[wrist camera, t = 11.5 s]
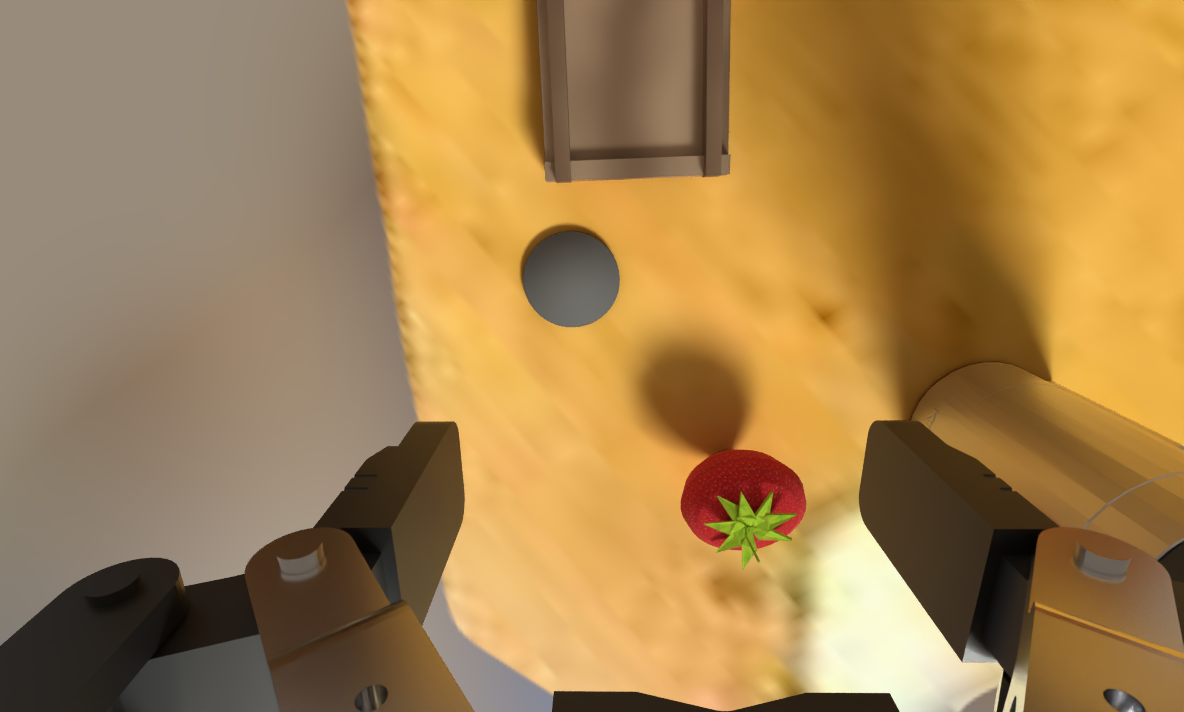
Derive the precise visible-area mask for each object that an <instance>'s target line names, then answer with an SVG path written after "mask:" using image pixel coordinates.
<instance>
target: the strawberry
mask: <svg viewBox="0 0 1184 712" xmlns="http://www.w3.org/2000/svg"><path fill="white" fill-rule="evenodd" d="M805 510H806V499H805V494H804V489H803V484H802V482H801V480H800V479H799V477H798V476H797V475H796V473H795V472H794V471H793V470H792V469H790V468H788V467H787V466H785V465H784V464H782V463H781V462H779V461H778V460H776V459H774V458H773V457H771V456H769V455H767V454H764V453H762V452H757V451H753V450H735V449H733V450H725V451H721V452H718V453H715V454H713V455H711V456H709V457H708V458H707V459H705V460H704V461H703V462H701V463H700V464H699V465H698V466H696V467H695V469H694V470H693V471H692V472H691V473H690V475H689V476H688V478H687V480H686V483H685V486H684V490H683V494H682V498H681V512H682V515H683V518H684V519H685V521H686V522H687V524H688V526H689V527H690V529H691V530H692V532H693V533H694V534H695V535H696V536H697V537H698V538H699V539H701V540H702V541H704V542H706V543H707V544H710V545H712V546H715V547H718V548H719V549H718V550H717V551H716V553H717V552H721V551H725V550H742V570H743V568H744V567H745V566H746V564H747V563H748V562H749V560H750V559H751V557H752V556H753V555H755V557H756V559H757V561H758V563H760V560H759V558H758V556H757V554H756V551H757V549H758V548H762V547H765V546H768V545H771V544H773V543H775V542H777V541H779V540H792V538H790V537H788V536H786V535H788V534H789V533H791V532H792V531H793V530H794V529H795V528H796V527H797V526H798V524H799V523H800V521H801V520H802V518H803V516H804V513H805Z"/></svg>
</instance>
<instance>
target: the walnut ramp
mask: <svg viewBox="0 0 1184 712" xmlns="http://www.w3.org/2000/svg"><path fill="white" fill-rule="evenodd" d="M730 10H731V0H537V16H538V35H539V54H540V72H541V91H542V110H543V129H544V147H545V162H544V163H545V179H546V181H547V182H557V183H568V182H572V181H596V180H622V179H647V178H672V177H698V176H702V177H717V176H723V175H727V174H730V155H728V134H729V72H730Z"/></svg>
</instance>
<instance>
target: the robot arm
mask: <svg viewBox="0 0 1184 712" xmlns="http://www.w3.org/2000/svg"><path fill="white" fill-rule="evenodd" d="M464 502H465V496H464V483H463V472H462V462H461V451H460V441H459V432H458V427H457V425H456V423H455V422H415V423H414V424H413V426H412V427H411V429H410V430H409V432H408V433H407V434H406V436H405V437H404V439H403V440H402V442H401V443H400V444H399V446H387V447H386V448H384V449H383V450H381V451H379V452H378V453H376V454H375V455H373V456H371V457H370V458H368V459H367V460H366V461H365V462H364V463H363V465H362V466H361V467H360V469H359V470H358V471H357V472H356V474H355V477H354V478H352V479H351V480H350V481H349V483H348V484H347V485H346V486H345V490H344V491H342V492H341V493H340V494H339V496H338V497H337V498H336V499H335V501H334V502H333V503H332V504H331V506H330V507H329V508H328V509H327V511H326V512H325V513H324V515H323V516H322V517H321V519H320V520H319V521H318V522H317V524H316V525H315V526H314V527H313V528H310V529H304V530H300V531H296V532H293V533H290V534H287V535H285V536H282V537H280V538H278V539H276V540H274V541H272V542H270V543H269V544H267V545H265V546H264V547H263V548H261V549H260V550H259V551H258V552H257V553H255V555H253V557H252V558H251V559H250V560H249V562H248V564H247V565H246V568H245V574H242V575H238V576H234V577H229V578H224V579H219V580H214V581H209V582H204V583H199V584H194V585H189V586H184V584H183V581H182V577H181V574H180V570H179V568H178V566H177V564H176V563H174V562H173V561H171V560H168V559H163V558H144V559H143V558H142V559H136V560H131V561H127V562H123V563H119V564H116V565H113V566H110V567H107V568H105V569H102V570H100V571H98V572H95V573H93V574H91V575H89V576H87V577H85V578H83V579H82V580H80V581H78V582H76V583H75V584H73V585H72V586H71V587H69V588H67V589H66V590H65V591H63V592H62V593H61V594H60V595H59V596H57V597H56V598H55V599H54V600H53V601H52V602H51V603H49V604H48V605H47V606H46V607H45V608H44V609H42V610H41V611H40V612H39V613H38V614H37V615H35V616H34V617H33V618H32V619H31V620H30V621H28V622H27V623H26V624H25V625H24V626H23V627H22V628H20V629H19V630H18V631H17V632H16V633H15V634H14V635H12V636H11V637H10V638H9V639H8V640H7V641H5V642H4V643H3V644H2V645H1V646H0V712H474V710H473V708H472V707H471V705H470V703H469V702H468V700H467V699H466V697H465V695H464V694H463V692H462V690H461V689H460V687H459V686H458V684H457V683H456V681H455V679H454V677H453V676H452V674H451V673H450V671H449V669H448V668H447V666H446V664H445V663H444V661H443V660H442V658H441V656H440V655H439V653H438V651H437V650H436V648H435V647H434V645H433V643H432V642H431V640H430V638H429V637H428V635H427V634H426V632H425V630H424V629H423V627H422V625H423V622H424V620H425V617H426V615H427V612H428V609H429V607H430V604H431V602H432V599H433V597H434V594H435V591H436V589H437V586H438V584H439V581H440V578H441V576H442V573H443V571H444V568H445V565H446V563H447V560H448V558H449V555H450V553H451V550H452V547H453V545H454V542H455V540H456V537H457V534H458V532H459V529H460V527H461V524H462V520H463V514H464ZM859 505H860V512H861V516H862V519H863V521H864V523H865V525H866V527H867V528H868V530H869V531H870V533H871V534H872V536H873V537H874V538H875V540H876V541H877V543H878V544H879V545H880V547H881V548H882V550H883V551H884V552H885V554H886V555H887V557H888V558H889V560H890V561H891V562H892V564H893V565H894V567H895V568H896V569H897V571H898V572H899V574H900V575H901V577H902V578H903V579H904V581H905V582H906V584H907V585H908V586H909V588H910V589H911V591H912V592H913V593H914V595H915V596H916V598H917V599H918V601H919V602H920V603H921V605H922V606H923V608H924V609H925V610H926V612H927V613H928V615H929V616H930V618H931V619H932V620H933V622H934V623H935V625H936V626H937V627H938V629H939V630H940V632H941V633H942V634H943V636H944V637H945V639H946V640H947V642H948V643H949V644H950V646H951V647H952V649H953V650H954V651H955V653H956V654H957V656H958V657H959V659H960V660H961V661H962V662H975V663H999V664H1000V665H1001V667H1002V668H1003V670H1002V674H1001V678H1000V681H999V685H998V689H997V696H996V701H995V707H994V712H1184V446H1182V445H1181V444H1179V443H1177V442H1175V441H1173V440H1171V439H1169V438H1167V437H1165V436H1163V435H1161V434H1159V433H1157V432H1155V431H1153V430H1151V429H1149V428H1147V427H1145V426H1143V425H1141V424H1139V423H1137V422H1135V421H1132V420H1130V419H1128V418H1126V417H1124V416H1122V415H1120V414H1118V413H1116V412H1114V411H1112V410H1110V409H1108V408H1106V407H1104V406H1102V405H1100V404H1098V403H1096V402H1094V401H1092V400H1090V399H1088V398H1086V397H1084V396H1082V395H1080V394H1078V393H1076V392H1074V391H1072V390H1070V389H1068V388H1066V387H1064V386H1061V385H1059V384H1057V383H1055V382H1053V381H1045V380H1043V379H1041V378H1039V377H1037V376H1035V375H1033V374H1031V373H1029V372H1027V371H1025V370H1023V369H1021V368H1018V367H1016V366H1014V365H1011V364H1005V363H1000V362H982V363H978V364H973V365H969V366H966V367H963V368H961V369H958V370H956V371H954V372H952V373H950V374H949V375H947V376H945V377H944V378H942V379H941V380H939V381H938V382H937V383H936V384H935V385H934V386H933V387H931V388H930V389H929V390H928V391H927V393H926V394H925V395H924V396H923V398H922V399H921V400H920V402H919V403H918V405H917V407H916V409H915V411H914V413H913V415H912V419H911V420H890V421H874V422H873V423H872V425H871V427H870V429H869V432H868V438H867V444H866V451H865V458H864V464H863V471H862V478H861V484H860V491H859ZM552 712H899V710H898V708H897V706H896V704H895V702H894V701H893V699H892V697H891V695H890V693H804V694H799V695H795V696H791V697H787V698H783V699H779V700H775V701H771V702H767V703H762V704H758V705H754V706H750V707H746V708H742V709H738V710H734V711H717V710H712V709H708V708H703V707H699V706H695V705H690V704H686V703H682V702H677V701H673V700H669V699H664V698H660V697H656V696H652V695H647V694H643V693H639V692H585V691H554V696H553V708H552Z"/></svg>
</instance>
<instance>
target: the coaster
mask: <svg viewBox="0 0 1184 712" xmlns="http://www.w3.org/2000/svg"><path fill="white" fill-rule="evenodd" d="M619 281H620V278H619V270H618V266H617V263H616V260H615V258H614V256H613V254H612V253H611V252H610V250H609V249H608V248H607V247H606V246H605V245H604V244H603V243H602V242H601V241H600V240H598V239H597V238H595V237H593V236H591V235H589V234H586V233H582V232H577V231H566V232H560V233H556V234H554V235H551V236H549V237H547V238H546V239H544V240H543V241H541V242H540V243H539V244H538V245H537V246H536V247H535V248H534V250H533V251H532V252H531V254H530V256H529V257H528V259H527V262H526V264H525V268H524V274H523V284H524V290H525V294H526V296H527V299H528V301H529V303H530V304H531V306H532V307H533V308H534V310H535V311H536V312H537V313H538V314H539V315H540V316H541V317H543V318H544V319H546V320H547V321H549V322H551V323H553V324H556V325H559V326H564V327H580V326H585V325H588V324H591V323H593V322H595V321H597V320H598V319H600V318H601V317H602V316H603V315H604V314H606V313H607V311H608V310H609V309H610V308H611V306H612V305H613V303H614V301H615V299H616V297H617V294H618V290H619Z"/></svg>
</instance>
